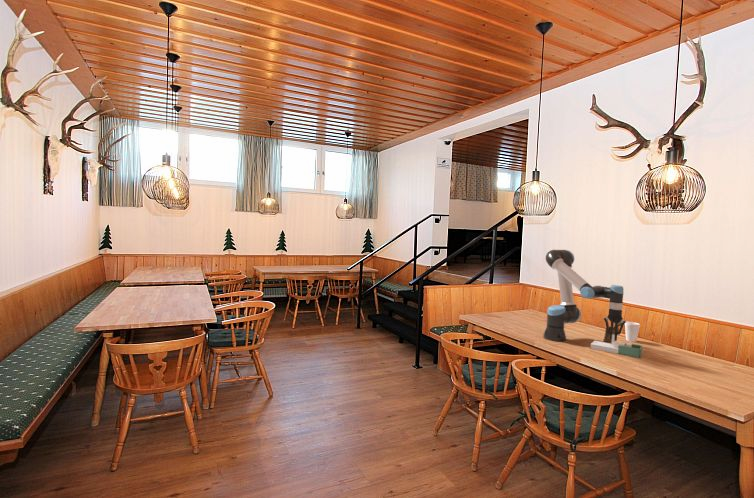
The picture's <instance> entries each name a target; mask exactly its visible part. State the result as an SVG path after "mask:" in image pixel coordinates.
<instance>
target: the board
mask: <svg viewBox="0 0 754 498" xmlns="http://www.w3.org/2000/svg"><path fill="white" fill-rule="evenodd" d="M613 346H614V345H612V344H610V343H605V342H603V341H598V340H593V341H592V342H591V343H590V349H592V350H597V351H601V352H607V353H612V354H616V355H619V354H618V348H615V347H613Z"/></svg>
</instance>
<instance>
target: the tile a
mask: <svg viewBox="0 0 754 498" xmlns="http://www.w3.org/2000/svg"><path fill="white" fill-rule="evenodd" d="M623 342H624V341H618V340H617V341H615V342H614V346H613V347H615V348H618V347H619V345H620V346H626V343H627V342H625V343H623Z"/></svg>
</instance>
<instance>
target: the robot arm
mask: <svg viewBox="0 0 754 498" xmlns="http://www.w3.org/2000/svg"><path fill="white" fill-rule="evenodd" d="M545 262H546V263H547V265H548V266H549V267H550V268H551V269H552V270H556V271H557V277H558V286H559V295H560V304H555V305H550V306H549V307H548V308H547V311H546V314H547V316H546V328H545V329H544V332H543V335H542V337H543V338H544V339H545V340H549V341H553V342H565V341H566V340H567V335H566V331H565V324H573V323H576V322H579V321H580V319H581V317H582V312H581V310H580V309H579V307H578V306H577V303H576V302H575V301H574V293H573V287H575V288H576V289H577V290H578V291H580V292H579V294H580V296H581V297H582V298H584V299H601V298H603V299H607V300H608V299H609V304H608V307H609V308H608V315H607V316H606V317H603V320H604V322H605V327H606V328H607V332H608V333H610V339H612V345H614V342H615V340H617V341H618V336H619V335H621V334H622V330H623V328H624V327H625V323H626V322H627V320H625V319H624V318H623V307H624V305H623V301H624V294H625V292H624V286H622V285H618V284H617V285H616V284H611V285H610V287H608V286H603V285H594V286H592V285H591V284H590V283H588V281H587V280H585V279H584V278H583V277H582V276H581V275H579V274H578V273H577V272H576V271H574V269H572V268H573V264H574V262H575V255H574V253H573V252H572V251H570V250H568V249H552V250H551V249H550V250H549V251H548V252H547V253H546V254H545ZM621 320H622V324H621V326H619V327H618V323H619V322H620V321H621ZM609 321H610V325H609ZM614 326H615V334H613V328H614ZM609 327H611V330H610V329H609ZM606 328H605V329H606ZM618 328H619V331H618Z"/></svg>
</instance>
